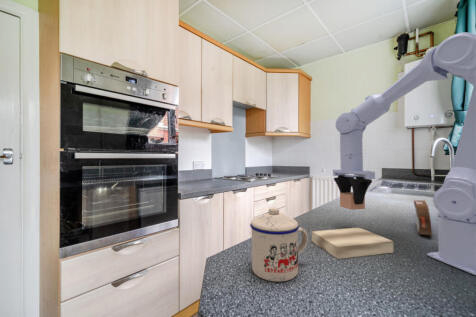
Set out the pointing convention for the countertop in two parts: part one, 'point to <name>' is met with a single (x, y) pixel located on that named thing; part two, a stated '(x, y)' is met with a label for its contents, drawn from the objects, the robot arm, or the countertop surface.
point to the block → (350, 201)
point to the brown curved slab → (423, 218)
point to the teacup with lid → (276, 246)
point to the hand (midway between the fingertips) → (352, 202)
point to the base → (351, 242)
